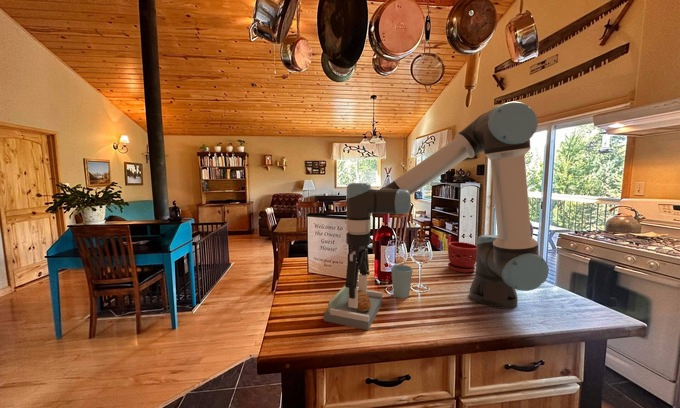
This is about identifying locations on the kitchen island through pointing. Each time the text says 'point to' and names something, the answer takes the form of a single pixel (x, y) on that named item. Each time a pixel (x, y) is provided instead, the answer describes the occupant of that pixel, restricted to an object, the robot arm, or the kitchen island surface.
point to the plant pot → (462, 256)
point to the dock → (352, 310)
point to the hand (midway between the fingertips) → (358, 300)
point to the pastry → (363, 302)
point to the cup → (401, 280)
